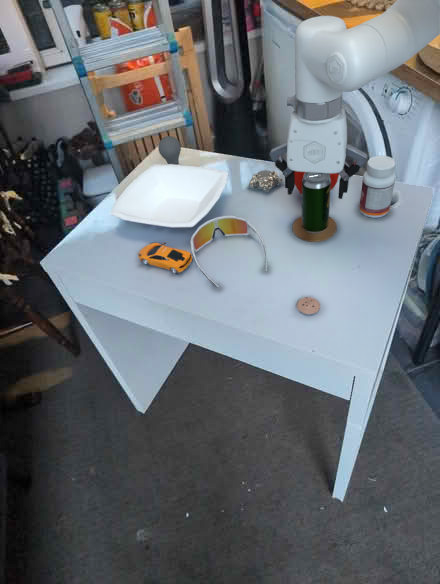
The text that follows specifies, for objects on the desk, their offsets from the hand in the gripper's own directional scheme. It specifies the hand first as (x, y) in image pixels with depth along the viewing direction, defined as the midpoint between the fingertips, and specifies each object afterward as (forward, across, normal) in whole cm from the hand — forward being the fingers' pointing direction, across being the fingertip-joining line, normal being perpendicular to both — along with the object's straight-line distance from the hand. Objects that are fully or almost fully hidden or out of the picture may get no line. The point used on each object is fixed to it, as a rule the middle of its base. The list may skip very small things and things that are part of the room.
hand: (315, 192), depth 84 cm
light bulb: (+9, -39, +16) cm, 43 cm away
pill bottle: (+9, +11, +8) cm, 16 cm away
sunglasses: (+9, -15, -12) cm, 21 cm away
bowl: (+9, -32, 0) cm, 33 cm away
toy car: (+9, -28, -16) cm, 33 cm away
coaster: (+9, 0, 0) cm, 9 cm away
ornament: (+9, -14, +13) cm, 21 cm away
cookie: (+9, +3, -22) cm, 24 cm away
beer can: (+8, 0, 0) cm, 8 cm away
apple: (+9, -2, +11) cm, 14 cm away
